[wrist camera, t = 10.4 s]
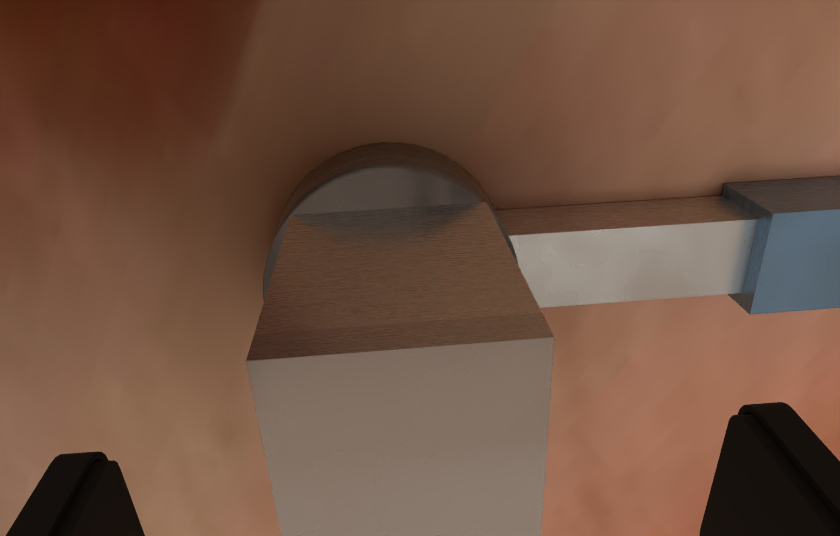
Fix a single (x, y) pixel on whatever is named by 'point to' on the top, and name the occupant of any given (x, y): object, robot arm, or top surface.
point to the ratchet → (616, 233)
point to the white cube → (402, 377)
